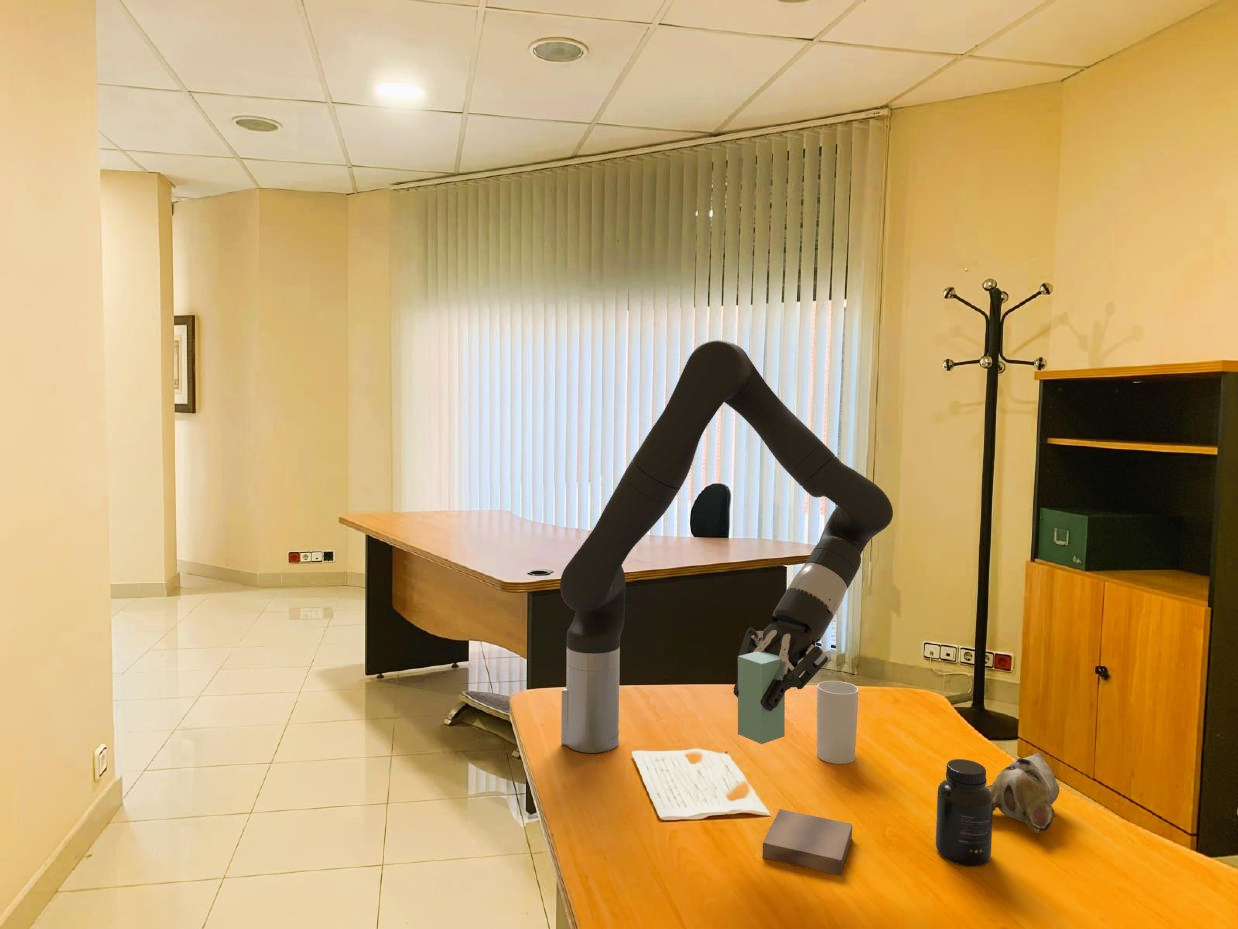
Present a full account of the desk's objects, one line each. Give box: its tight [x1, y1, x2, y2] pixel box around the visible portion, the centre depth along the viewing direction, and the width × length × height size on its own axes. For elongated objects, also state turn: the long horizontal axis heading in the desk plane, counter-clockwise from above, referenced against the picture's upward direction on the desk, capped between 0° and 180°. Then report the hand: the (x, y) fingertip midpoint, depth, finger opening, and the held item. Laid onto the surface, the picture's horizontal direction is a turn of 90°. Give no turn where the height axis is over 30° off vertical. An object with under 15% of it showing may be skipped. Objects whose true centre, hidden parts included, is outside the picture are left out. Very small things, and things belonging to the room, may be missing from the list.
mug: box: [816, 680, 859, 765], centre depth 140 cm, size 10×7×12 cm, turn 148°
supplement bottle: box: [935, 758, 994, 867], centre depth 108 cm, size 7×7×12 cm
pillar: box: [737, 651, 786, 745], centre depth 113 cm, size 4×4×11 cm
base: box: [762, 808, 853, 876], centre depth 110 cm, size 10×10×2 cm
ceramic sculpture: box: [985, 752, 1060, 834], centre depth 119 cm, size 11×9×15 cm
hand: (751, 702), depth 112 cm, fingers closed on pillar, 4 cm apart
